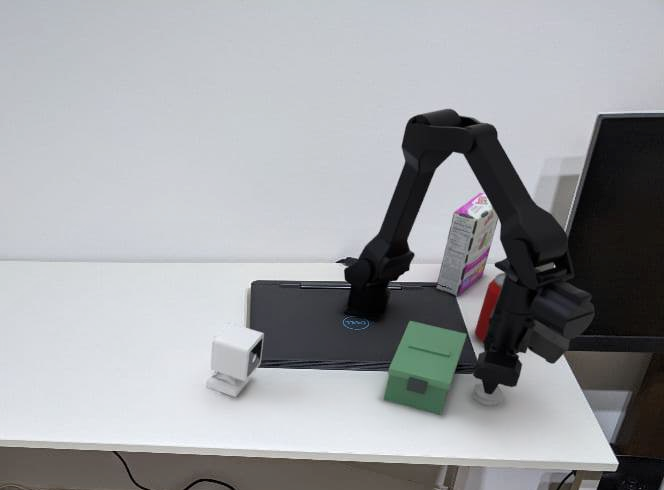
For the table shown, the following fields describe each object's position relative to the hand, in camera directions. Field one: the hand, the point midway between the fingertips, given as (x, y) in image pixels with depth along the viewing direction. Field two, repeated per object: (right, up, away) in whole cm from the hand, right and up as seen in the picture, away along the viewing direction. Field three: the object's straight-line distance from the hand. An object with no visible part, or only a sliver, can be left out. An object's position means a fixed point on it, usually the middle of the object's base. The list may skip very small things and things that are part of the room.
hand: (489, 387), depth 137 cm
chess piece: (0, -2, +1) cm, 2 cm away
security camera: (-41, 0, +5) cm, 41 cm away
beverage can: (+7, +9, +15) cm, 19 cm away
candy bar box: (+7, +21, +31) cm, 38 cm away
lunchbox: (-9, +1, +5) cm, 11 cm away
